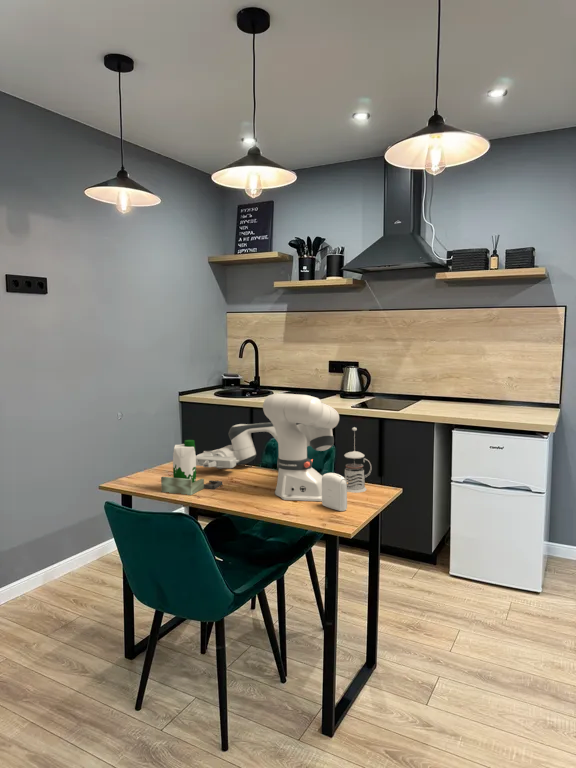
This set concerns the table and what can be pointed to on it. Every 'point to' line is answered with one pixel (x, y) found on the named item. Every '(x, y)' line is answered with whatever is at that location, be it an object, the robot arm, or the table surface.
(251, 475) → the table surface
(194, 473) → the soya milk
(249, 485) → the table surface
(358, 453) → the french press
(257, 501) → the table surface
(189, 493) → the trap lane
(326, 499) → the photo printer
